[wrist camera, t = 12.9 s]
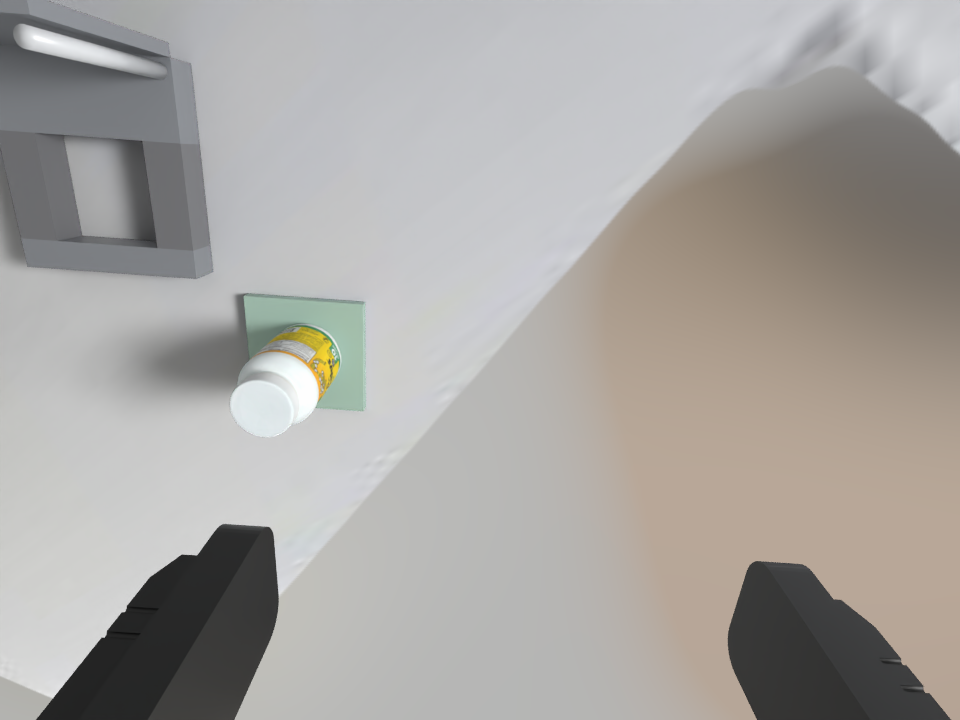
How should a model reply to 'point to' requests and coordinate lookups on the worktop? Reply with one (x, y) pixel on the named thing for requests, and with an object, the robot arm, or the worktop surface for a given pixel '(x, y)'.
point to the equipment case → (104, 114)
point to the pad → (331, 315)
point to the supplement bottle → (285, 380)
